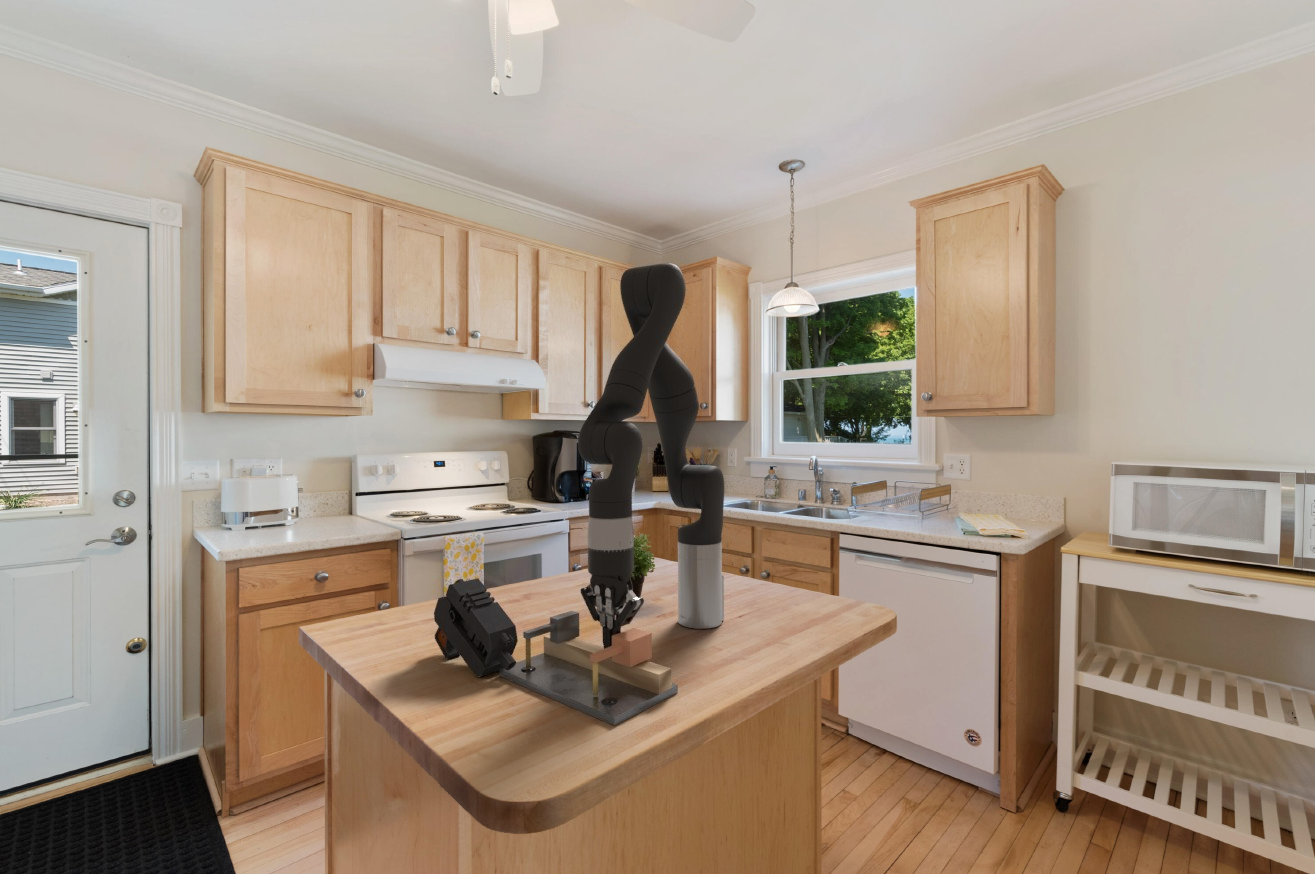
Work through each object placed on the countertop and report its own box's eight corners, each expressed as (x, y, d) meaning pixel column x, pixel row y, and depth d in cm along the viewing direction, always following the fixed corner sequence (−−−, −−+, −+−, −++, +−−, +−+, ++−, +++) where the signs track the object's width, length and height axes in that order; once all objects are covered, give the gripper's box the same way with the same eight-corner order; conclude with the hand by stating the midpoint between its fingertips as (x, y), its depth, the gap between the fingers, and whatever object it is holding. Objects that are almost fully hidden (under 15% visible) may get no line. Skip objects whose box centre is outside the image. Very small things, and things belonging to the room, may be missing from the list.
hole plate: (563, 652, 114) (563, 645, 114) (677, 692, 96) (677, 684, 96) (498, 675, 103) (498, 668, 103) (614, 725, 86) (614, 716, 86)
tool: (452, 630, 118) (474, 568, 113) (506, 705, 107) (534, 639, 102) (422, 639, 113) (444, 574, 108) (476, 718, 103) (503, 650, 98)
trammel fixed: (561, 646, 114) (560, 607, 113) (675, 685, 96) (675, 639, 96) (511, 664, 105) (510, 622, 105) (626, 710, 88) (626, 660, 88)
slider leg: (633, 669, 102) (633, 627, 102) (651, 675, 99) (651, 633, 99) (584, 691, 93) (583, 646, 93) (602, 698, 91) (602, 652, 91)
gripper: (656, 545, 100) (657, 652, 100) (599, 536, 108) (600, 634, 109) (623, 552, 94) (624, 666, 94) (566, 542, 103) (567, 646, 103)
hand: (611, 649), depth 101 cm, fingers closed
